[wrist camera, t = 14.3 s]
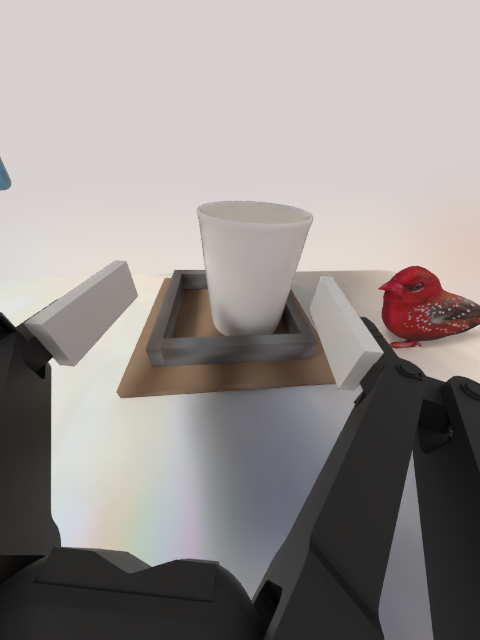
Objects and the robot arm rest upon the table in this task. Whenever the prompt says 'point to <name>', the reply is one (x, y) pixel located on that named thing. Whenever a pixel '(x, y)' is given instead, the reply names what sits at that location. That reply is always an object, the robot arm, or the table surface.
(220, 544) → the table surface
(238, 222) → the candle holder
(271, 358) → the brown square wooden tray
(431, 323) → the decorative bird figurine
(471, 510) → the robot arm
